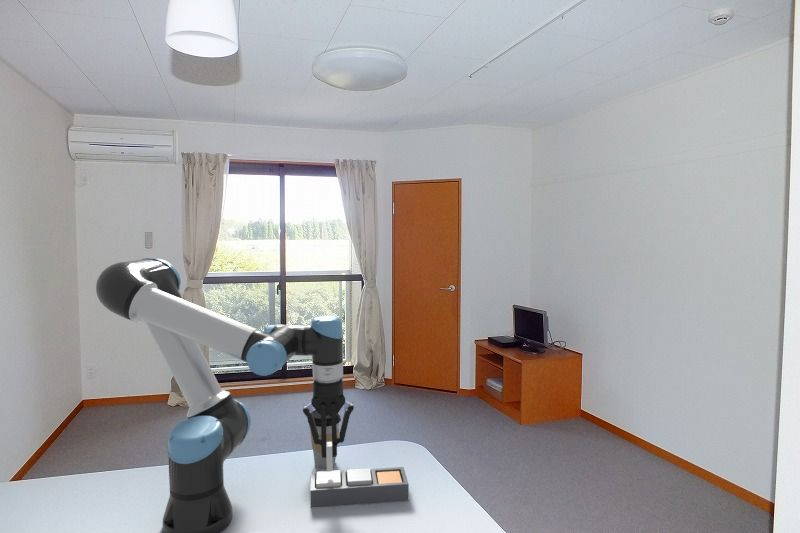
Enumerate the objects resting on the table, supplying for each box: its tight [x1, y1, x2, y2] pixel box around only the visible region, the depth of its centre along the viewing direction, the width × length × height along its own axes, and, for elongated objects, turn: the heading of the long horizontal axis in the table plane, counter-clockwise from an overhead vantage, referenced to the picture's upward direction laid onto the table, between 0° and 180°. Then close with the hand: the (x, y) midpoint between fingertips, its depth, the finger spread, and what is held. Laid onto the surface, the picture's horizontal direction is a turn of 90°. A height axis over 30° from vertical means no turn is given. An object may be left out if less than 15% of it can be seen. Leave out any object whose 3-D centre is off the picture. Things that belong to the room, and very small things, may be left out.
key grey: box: [347, 467, 372, 486], centre depth 129 cm, size 6×6×2 cm
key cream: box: [316, 469, 341, 488], centre depth 128 cm, size 6×6×2 cm
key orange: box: [377, 471, 402, 484], centre depth 130 cm, size 6×6×2 cm
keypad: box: [309, 466, 410, 509], centre depth 129 cm, size 24×9×4 cm, turn 98°
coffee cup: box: [307, 409, 342, 469], centre depth 145 cm, size 9×9×15 cm
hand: (329, 468), depth 128 cm, fingers closed
